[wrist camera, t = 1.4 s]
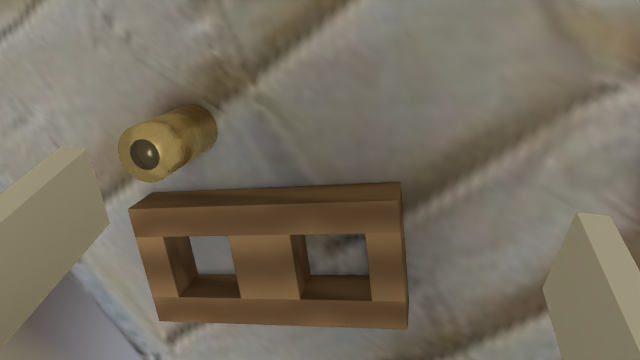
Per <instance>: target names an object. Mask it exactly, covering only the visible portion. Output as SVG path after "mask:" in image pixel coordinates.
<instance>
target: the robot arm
mask: <svg viewBox="0 0 640 360" xmlns="http://www.w3.org/2000/svg"><path fill="white" fill-rule="evenodd" d="M109 224H110V222H109V219H108V216H107V213H106V209H105V206H104V203H103V199H102V196H101V193H100V189H99V186H98V183H97V179H96V176H95V173H94V170H93V166H92V163H91V160H90V156H89V153H88V150H87V149H86V148H78V147H70V146H63V145H62V146H61V147H60V148H59V149H57V150H56V151H55V152H54V153H52V154H51V155H50V156H48V157H47V158H46V159H45V160H43V161H42V162H41V163H40V164H38V165H37V166H36V167H34V168H33V169H32V170H31V171H29V172H28V173H27V174H26V175H24V176H23V177H22V178H20V179H19V180H18V181H17V182H15V183H14V184H13V185H11V186H10V187H9V188H8V189H6V190H5V191H4V192H3V193H1V194H0V349H1V348H2V347H3V346H4V345H5V343H6V342H7V341H8V340H9V339H10V338H11V336H12V335H13V334H14V333H15V332H16V331H17V330H18V329H19V327H20V326H21V325H22V324H23V323H24V322H25V320H26V319H27V318H28V317H29V316H30V315H31V314H32V312H33V311H34V310H35V309H36V308H37V307H38V305H39V304H40V303H41V302H42V301H43V300H44V299H45V297H46V296H47V295H48V294H49V293H50V292H51V290H52V289H53V288H54V287H55V286H56V285H57V284H58V282H59V281H60V280H61V279H62V278H63V276H64V275H65V274H66V273H67V272H68V271H69V270H70V269H71V267H72V266H73V265H74V264H75V263H76V262H77V260H78V259H79V258H80V257H81V256H82V255H83V254H84V252H85V251H86V250H87V249H88V248H89V247H90V245H91V244H92V243H93V242H94V241H95V240H96V239H97V237H98V236H99V235H100V234H101V233H102V232H103V230H104V229H105V228H106V227H107V226H108V225H109ZM542 289H543V293H544V296H545V300H546V303H547V307H548V310H549V314H550V317H551V321H552V324H553V328H554V331H555V335H556V338H557V342H558V345H559V349H560V352H561V356H562V359H563V360H640V271H639V269H638V267H637V265H636V263H635V261H634V260H633V258H632V256H631V254H630V252H629V250H628V248H627V247H626V245H625V243H624V241H623V239H622V237H621V236H620V234H619V232H618V230H617V228H616V226H615V224H614V223H613V221H612V219H611V217H610V216H605V215H598V214H590V213H582V212H577V213H576V215H575V217H574V219H573V222H572V224H571V226H570V228H569V230H568V233H567V235H566V237H565V239H564V241H563V244H562V246H561V248H560V250H559V253H558V255H557V257H556V259H555V261H554V264H553V266H552V268H551V270H550V272H549V275H548V277H547V279H546V281H545V284H544V286H543V288H542Z"/></svg>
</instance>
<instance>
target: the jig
mask: <svg viewBox="0 0 640 360" xmlns="http://www.w3.org/2000/svg"><path fill="white" fill-rule="evenodd" d="M128 212H129V216H130V219H131V223H132V226H133V230H134V233H135V237H136V240H137V244H138V247H139V251H140V254H141V258H142V261H143V265H144V268H145V272H146V275H147V279H148V282H149V286H150V289H151V293H152V296H153V300H154V303H155V307H156V310H157V314H158V317H159V321H173V322H203V323H232V324H262V325H292V326H321V327H351V328H380V329H407V328H408V310H409V296H408V282H407V267H406V253H405V239H404V225H403V211H402V197H401V182H393V183H369V184H346V185H322V186H299V187H275V188H252V189H228V190H204V191H181V192H157V193H151V194H149V195H148V196H146V197H145V198H144V199H142V200H141V201H139V202H138V203H136V204H135V205H133V206H132V207H130V208H129V209H128ZM308 234H365V237H366V247H367V256H368V266H369V276H336V275H310V270H309V263H308V256H307V250H306V243H305V236H304V235H308ZM189 236H228V238H229V243H230V247H231V252H232V257H233V261H234V266H235V271H236V275H198V273H197V269H196V265H195V261H194V257H193V253H192V249H191V244H190V240H189Z"/></svg>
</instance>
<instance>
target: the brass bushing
mask: <svg viewBox="0 0 640 360" xmlns="http://www.w3.org/2000/svg"><path fill="white" fill-rule="evenodd" d="M216 138H217V125H216V122H215V120H214V118H213V117H212V115H211V114H210V113H209V112H208V111H207V110H206V109H204V108H203V107H201V106H198V105H194V104H189V105H185V106H182V107H180V108H177V109H175V110H172V111H170V112H167V113H165V114H162V115H160V116H158V117H155V118H153V119H150V120H148V121H145V122H143V123H141V124H138V125H136V126H133V127H131V128H129V129H127V130H126V131H125V132H124V133H123V134H122V136H121V138H120V140H119V144H118V152H119V157H120V160H121V162H122V164H123V166H124V167H125V169H126V170H127V171H128V172H129V173H130V174H131V175H132V176H134V177H135V178H137V179H139V180H141V181H144V182H157V181H160V180H162V179H164V178H165V177H167V176H168V175H170V174H171V173H173V172H174V171H176V170H177V169H179V168H180V167H182V166H183V165H185V164H186V163H188V162H189V161H191V160H192V159H194V158H195V157H197V156H199V155H200V154H202V153H203V152H205V151H206V150H208V149H209V148H210V147H212V146H213V144H214V143H215V141H216Z"/></svg>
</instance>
